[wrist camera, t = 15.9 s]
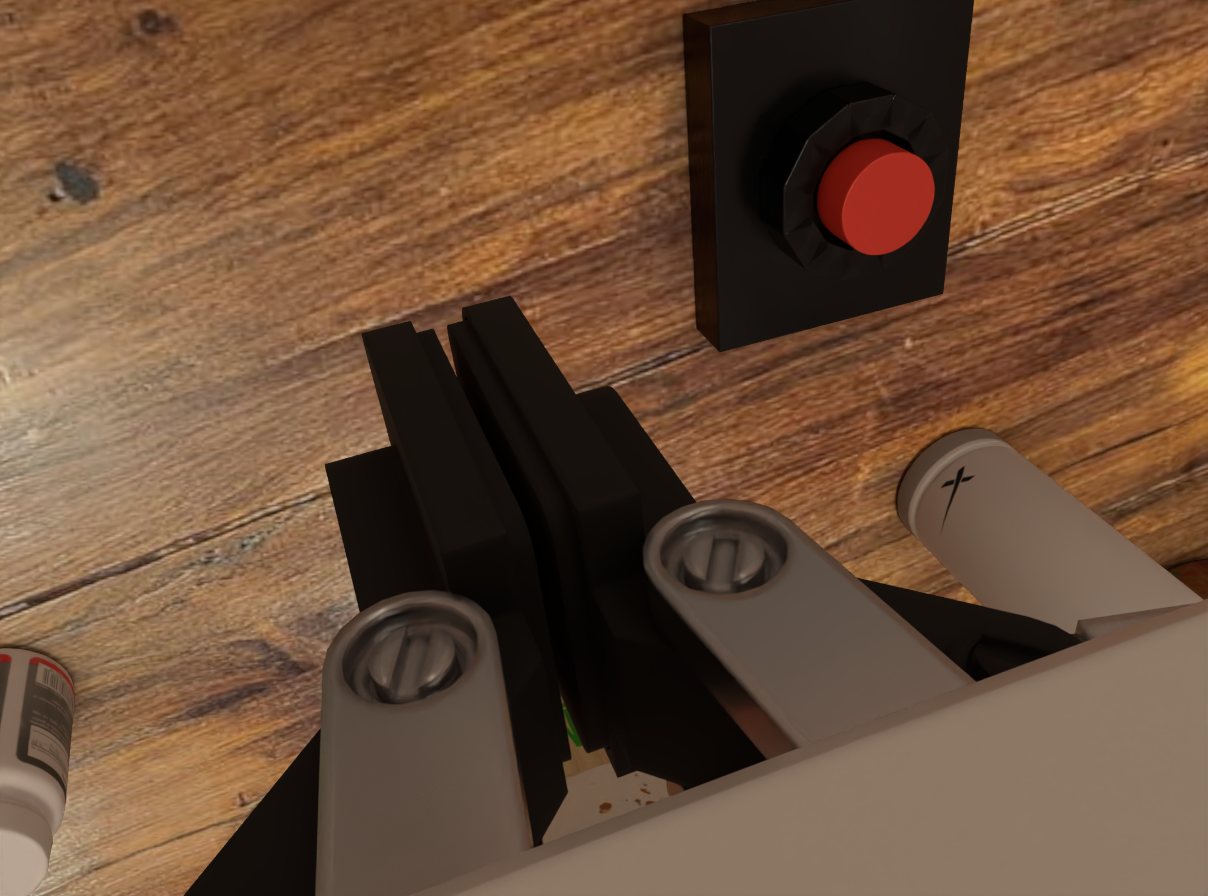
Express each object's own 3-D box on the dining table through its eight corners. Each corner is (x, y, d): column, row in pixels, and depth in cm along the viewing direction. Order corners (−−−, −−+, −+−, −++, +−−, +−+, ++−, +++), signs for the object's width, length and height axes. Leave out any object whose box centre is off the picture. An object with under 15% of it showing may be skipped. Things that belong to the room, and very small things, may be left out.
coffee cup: (648, 568, 48) (807, 830, 36) (609, 725, 53) (740, 1002, 41) (436, 583, 44) (536, 881, 32) (415, 751, 49) (496, 1064, 37)
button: (817, 148, 35) (844, 164, 34) (910, 128, 36) (939, 142, 35) (814, 247, 37) (839, 265, 36) (902, 226, 38) (930, 243, 37)
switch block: (682, 14, 35) (733, 37, 32) (939, -33, 37) (1011, -14, 34) (696, 329, 42) (739, 374, 39) (913, 273, 44) (971, 312, 41)
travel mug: (890, 450, 49) (1234, 772, 33) (1010, 410, 51) (1395, 701, 35) (886, 550, 53) (1195, 883, 37) (998, 510, 54) (1342, 815, 38)
